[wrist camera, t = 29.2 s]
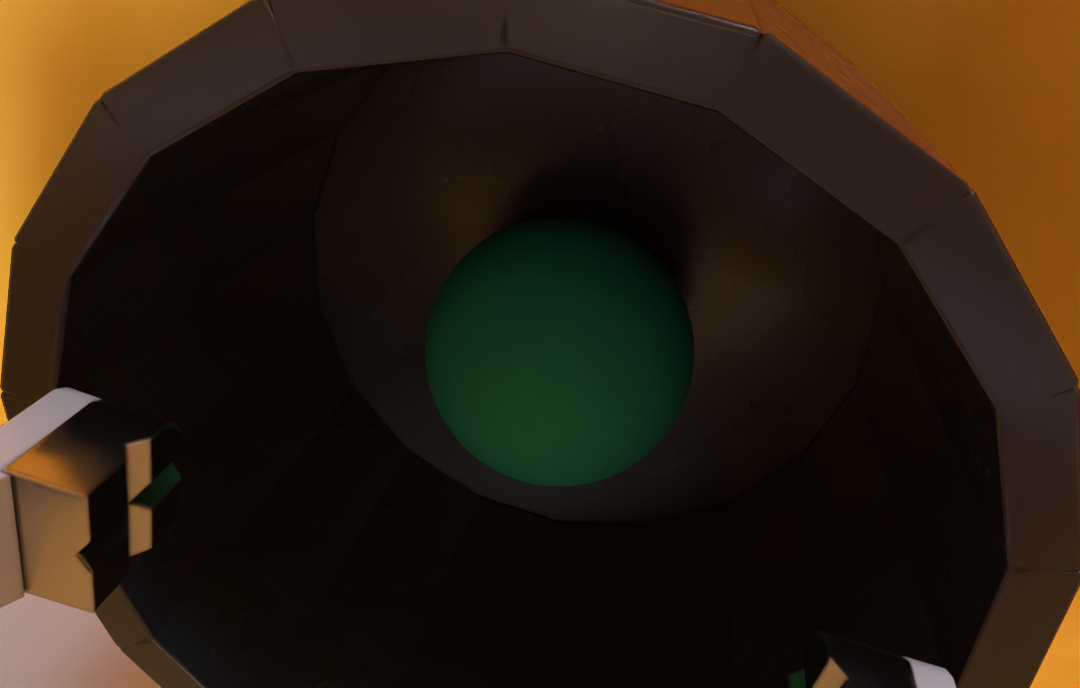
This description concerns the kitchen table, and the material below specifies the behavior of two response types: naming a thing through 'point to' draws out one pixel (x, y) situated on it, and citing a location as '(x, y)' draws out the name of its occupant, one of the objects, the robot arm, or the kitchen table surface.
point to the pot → (406, 400)
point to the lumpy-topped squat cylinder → (61, 649)
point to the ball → (559, 351)
